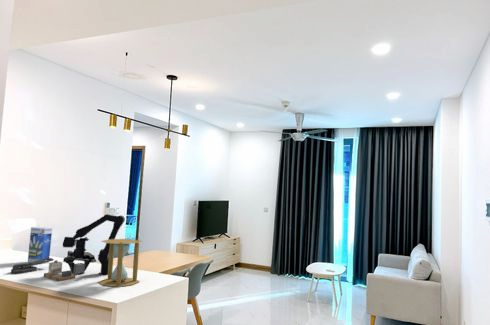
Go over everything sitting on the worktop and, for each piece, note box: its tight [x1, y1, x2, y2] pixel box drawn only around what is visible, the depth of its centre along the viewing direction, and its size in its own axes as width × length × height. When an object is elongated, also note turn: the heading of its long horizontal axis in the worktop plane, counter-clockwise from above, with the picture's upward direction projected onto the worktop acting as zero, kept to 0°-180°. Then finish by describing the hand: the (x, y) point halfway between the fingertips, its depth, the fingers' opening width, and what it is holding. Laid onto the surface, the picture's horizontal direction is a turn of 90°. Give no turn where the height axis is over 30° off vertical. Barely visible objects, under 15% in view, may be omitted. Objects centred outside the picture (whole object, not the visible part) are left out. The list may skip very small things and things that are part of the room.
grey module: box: [72, 262, 85, 276], centre depth 231 cm, size 4×6×6 cm
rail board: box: [43, 259, 76, 282], centre depth 220 cm, size 18×10×10 cm, turn 56°
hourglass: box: [97, 238, 143, 288], centre depth 215 cm, size 24×22×25 cm
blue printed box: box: [27, 226, 53, 265], centre depth 263 cm, size 13×8×26 cm, turn 73°
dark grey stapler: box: [10, 257, 55, 275], centre depth 236 cm, size 9×7×25 cm
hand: (78, 271), depth 231 cm, fingers open, 8 cm apart
